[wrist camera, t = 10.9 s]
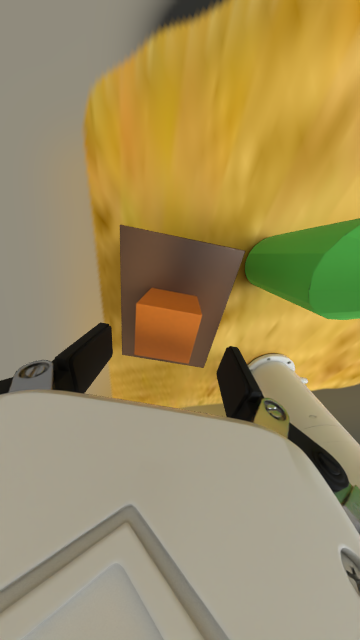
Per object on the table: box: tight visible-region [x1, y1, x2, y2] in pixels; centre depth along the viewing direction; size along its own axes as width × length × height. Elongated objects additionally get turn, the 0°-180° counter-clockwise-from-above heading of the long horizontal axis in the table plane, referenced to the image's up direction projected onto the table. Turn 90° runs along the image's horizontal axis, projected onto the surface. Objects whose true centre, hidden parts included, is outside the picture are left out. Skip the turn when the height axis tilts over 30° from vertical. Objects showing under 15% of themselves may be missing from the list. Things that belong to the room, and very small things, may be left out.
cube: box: [134, 288, 202, 364], centre depth 14 cm, size 5×5×5 cm
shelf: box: [120, 225, 245, 368], centre depth 23 cm, size 13×16×13 cm
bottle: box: [245, 218, 360, 320], centre depth 14 cm, size 9×9×25 cm
